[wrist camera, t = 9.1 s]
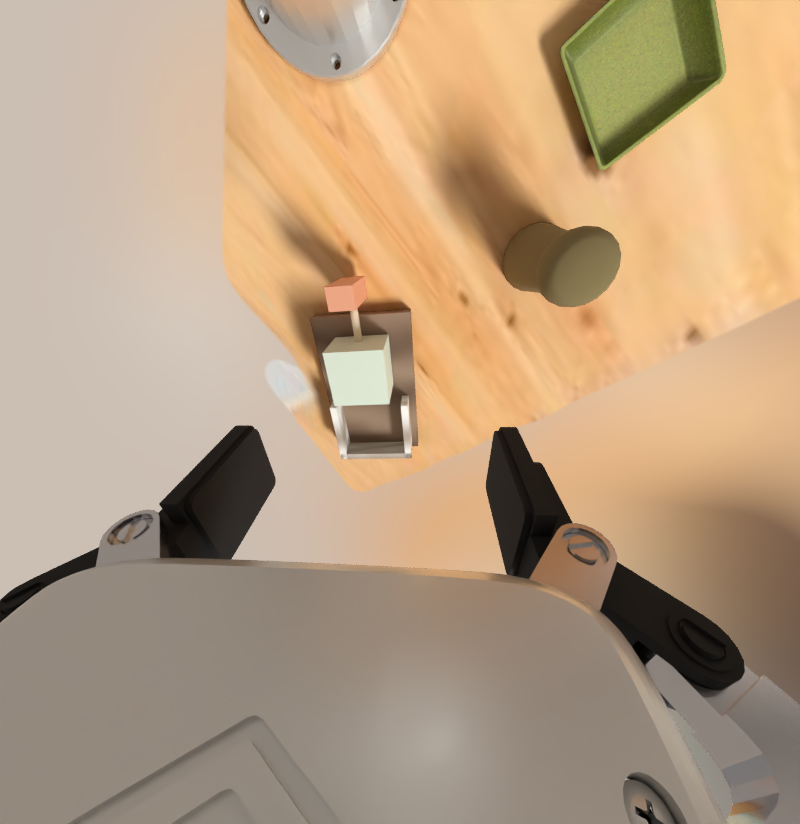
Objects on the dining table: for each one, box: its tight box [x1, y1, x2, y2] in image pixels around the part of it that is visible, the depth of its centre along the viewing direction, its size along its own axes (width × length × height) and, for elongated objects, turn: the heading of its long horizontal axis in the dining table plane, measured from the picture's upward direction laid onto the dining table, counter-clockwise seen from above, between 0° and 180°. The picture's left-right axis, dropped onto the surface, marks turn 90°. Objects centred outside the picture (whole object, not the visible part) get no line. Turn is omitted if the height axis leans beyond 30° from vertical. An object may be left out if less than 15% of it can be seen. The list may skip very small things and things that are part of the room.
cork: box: [503, 222, 621, 307], centre depth 24 cm, size 6×6×11 cm
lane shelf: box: [310, 309, 418, 459], centre depth 36 cm, size 18×11×4 cm, turn 5°
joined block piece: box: [322, 276, 393, 406], centre depth 30 cm, size 12×6×6 cm, turn 5°
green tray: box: [560, 0, 726, 170], centre depth 21 cm, size 9×9×2 cm
